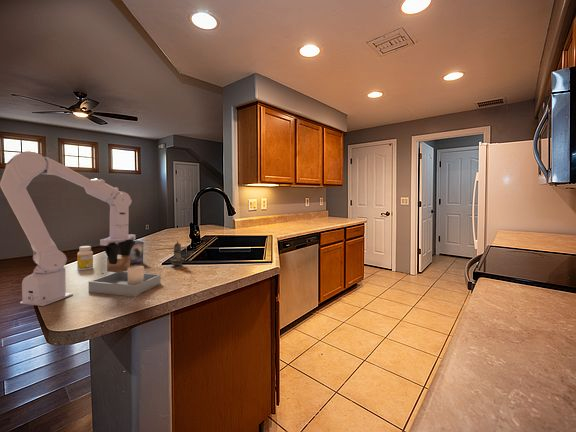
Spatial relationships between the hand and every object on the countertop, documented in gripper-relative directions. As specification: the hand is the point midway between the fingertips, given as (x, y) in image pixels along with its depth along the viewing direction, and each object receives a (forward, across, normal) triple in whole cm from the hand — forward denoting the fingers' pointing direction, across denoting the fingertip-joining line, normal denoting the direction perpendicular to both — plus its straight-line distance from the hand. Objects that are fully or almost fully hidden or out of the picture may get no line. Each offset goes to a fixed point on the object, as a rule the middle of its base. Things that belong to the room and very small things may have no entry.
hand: (118, 262), depth 96 cm
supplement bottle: (+8, +14, +27) cm, 32 cm away
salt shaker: (+8, +28, -7) cm, 30 cm away
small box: (+8, +26, +16) cm, 32 cm away
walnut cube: (+3, 0, 0) cm, 3 cm away
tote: (+8, -2, -5) cm, 10 cm away
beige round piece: (+8, -2, -8) cm, 12 cm away
